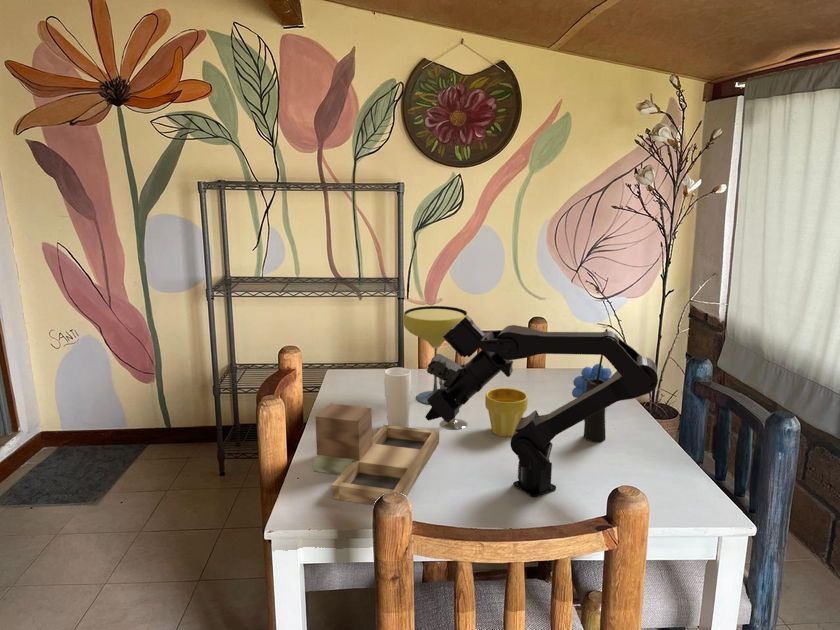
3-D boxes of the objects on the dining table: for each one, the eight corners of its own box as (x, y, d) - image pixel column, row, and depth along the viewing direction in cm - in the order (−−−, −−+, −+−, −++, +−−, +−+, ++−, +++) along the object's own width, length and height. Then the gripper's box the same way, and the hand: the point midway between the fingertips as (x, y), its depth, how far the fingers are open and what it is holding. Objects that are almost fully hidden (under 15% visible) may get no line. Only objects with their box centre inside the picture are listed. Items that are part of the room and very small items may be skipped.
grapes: (605, 398, 183) (608, 358, 181) (615, 407, 177) (618, 365, 174) (565, 400, 182) (568, 360, 179) (574, 409, 176) (576, 367, 173)
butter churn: (562, 434, 159) (567, 324, 153) (589, 426, 164) (596, 319, 158) (590, 448, 152) (597, 333, 145) (617, 438, 157) (626, 327, 150)
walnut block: (372, 445, 147) (371, 407, 145) (359, 460, 139) (358, 421, 137) (331, 440, 149) (330, 403, 147) (316, 454, 142) (315, 416, 140)
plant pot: (525, 441, 155) (527, 403, 153) (482, 438, 157) (483, 400, 155) (527, 425, 165) (528, 388, 163) (486, 421, 167) (487, 386, 165)
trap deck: (439, 442, 155) (439, 431, 154) (398, 508, 125) (398, 494, 125) (351, 432, 161) (351, 421, 160) (293, 492, 132) (292, 479, 131)
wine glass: (450, 415, 171) (450, 361, 168) (475, 423, 166) (476, 367, 163) (431, 425, 165) (431, 369, 162) (456, 433, 160) (457, 375, 157)
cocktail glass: (468, 388, 192) (469, 306, 186) (465, 411, 175) (467, 321, 169) (407, 386, 194) (407, 305, 188) (399, 408, 176) (398, 319, 171)
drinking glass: (379, 430, 162) (378, 373, 159) (393, 420, 168) (392, 365, 165) (403, 435, 159) (402, 377, 156) (416, 425, 165) (416, 369, 162)
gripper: (462, 333, 141) (416, 378, 147) (436, 355, 124) (385, 404, 130) (497, 371, 140) (449, 414, 146) (476, 398, 123) (422, 445, 129)
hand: (427, 418), depth 137 cm, fingers closed
